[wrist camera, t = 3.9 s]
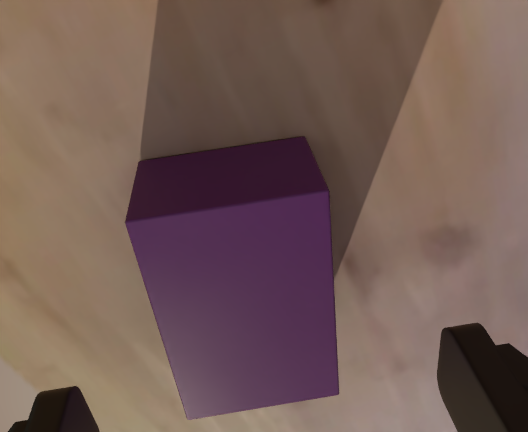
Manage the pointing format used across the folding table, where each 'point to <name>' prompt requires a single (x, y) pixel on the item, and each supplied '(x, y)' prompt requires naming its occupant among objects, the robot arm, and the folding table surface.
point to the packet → (239, 274)
